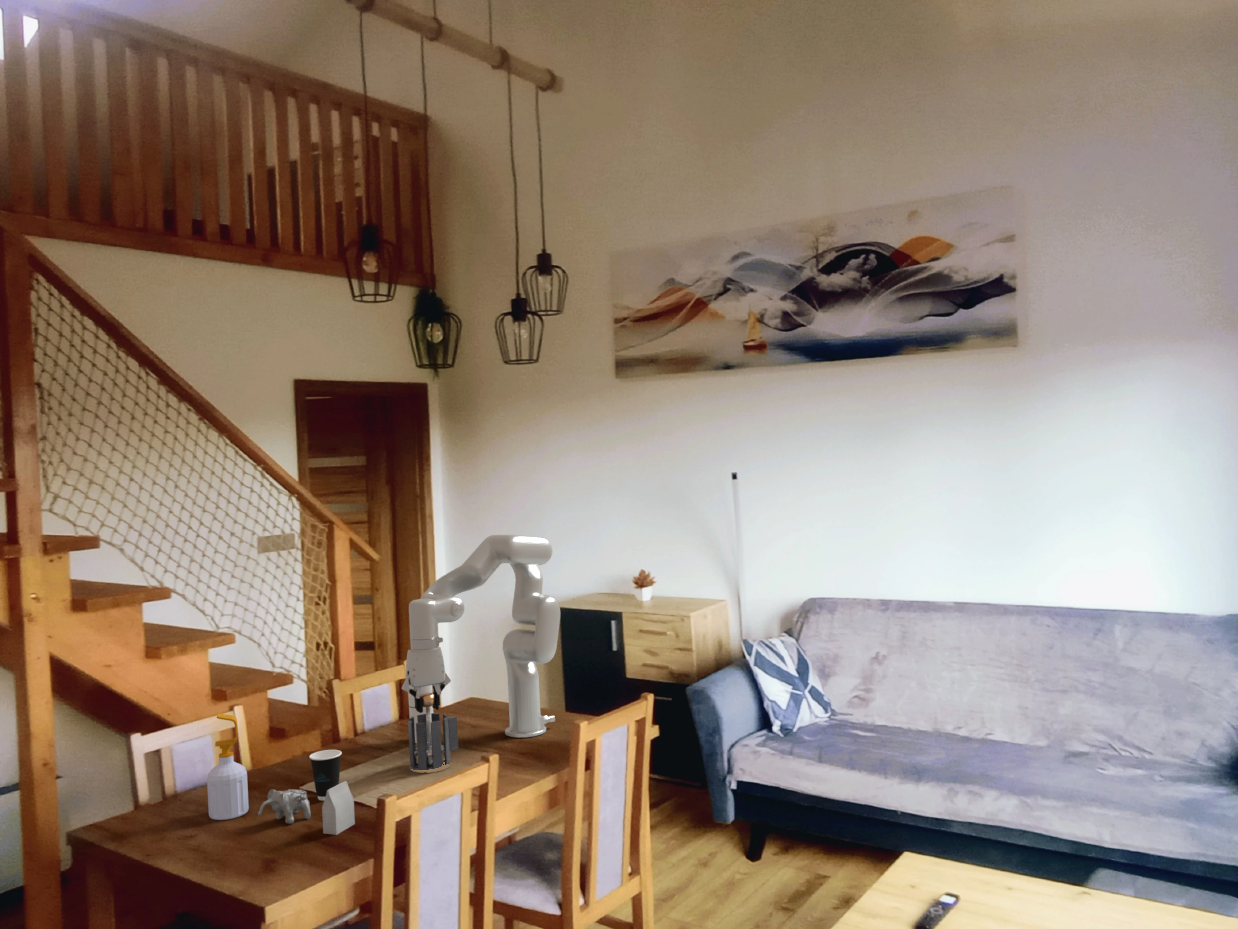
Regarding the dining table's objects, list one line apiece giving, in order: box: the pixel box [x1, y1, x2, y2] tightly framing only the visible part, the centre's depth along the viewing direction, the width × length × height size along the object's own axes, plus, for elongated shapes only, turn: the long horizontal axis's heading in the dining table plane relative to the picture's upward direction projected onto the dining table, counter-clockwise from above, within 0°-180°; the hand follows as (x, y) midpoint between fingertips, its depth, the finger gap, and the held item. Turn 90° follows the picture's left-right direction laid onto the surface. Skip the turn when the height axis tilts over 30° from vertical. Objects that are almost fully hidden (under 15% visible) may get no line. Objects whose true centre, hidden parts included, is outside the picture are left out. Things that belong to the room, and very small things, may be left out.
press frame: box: [407, 712, 459, 770], centre depth 269 cm, size 14×11×14 cm
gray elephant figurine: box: [257, 788, 311, 825], centre depth 231 cm, size 9×12×8 cm
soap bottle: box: [206, 713, 250, 821], centre depth 238 cm, size 9×9×25 cm
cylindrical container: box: [407, 685, 434, 743], centre depth 295 cm, size 7×7×25 cm
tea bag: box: [321, 780, 356, 836], centre depth 224 cm, size 4×7×10 cm, turn 159°
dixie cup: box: [308, 749, 342, 801], centre depth 247 cm, size 8×8×11 cm
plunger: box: [415, 692, 444, 757], centre depth 268 cm, size 8×8×16 cm
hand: (427, 709), depth 268 cm, fingers closed on plunger, 4 cm apart
